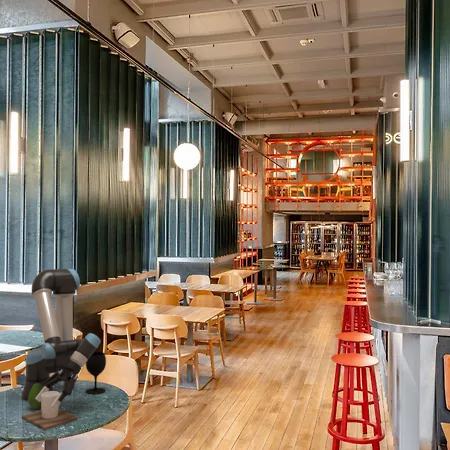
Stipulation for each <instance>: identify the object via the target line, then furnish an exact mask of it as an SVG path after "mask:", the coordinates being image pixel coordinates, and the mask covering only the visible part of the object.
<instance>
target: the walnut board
mask: <svg viewBox="0 0 450 450" xmlns="http://www.w3.org/2000/svg"><path fill="white" fill-rule="evenodd" d="M21 419H22V420H23V421H26V422H27V423H30V424H31V425H33V426H35V427H38V428H40V429H41V430H43V431H48V430H50V429H53V428H57V427H60V426H63V425H65V424H69V423H72V422H74V421H77V420H79V417H78V416H77V415H75V414H72V413H71V412H67V411H66V410H63V409H61V408H59V407H58V416H57V417H55V418H51V419H45V418H42V410H41V409H39V410H37V411H34V412H29V413H27V414H24V415H21Z"/></svg>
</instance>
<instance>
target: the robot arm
mask: <svg viewBox="0 0 450 450" xmlns="http://www.w3.org/2000/svg"><path fill="white" fill-rule="evenodd" d="M80 285H81V282H80V276H79V274H78V272H77V270H75V269H74V268H59V269H45V270H42V271H40V272H39V273H38V274H37V275H36V276H35V277H34V279H33V281H32V285H31V296H32V298H33V299H35V303H36V308H37V312H38V318H39V321H40V327H41V331H42V335H43V342H44V343H42V344H41V346H40V348H37V349H36V348H35V349H33V350H30V351H29V352H28V353H27V354H26V359H25V383H24V385H23V389H22V392H21V399H22V400H24V401H28V395H29V393H30V390H31V388H32V386H33V385H34V384H36V383H39V384H41V385H42V387H43V389H42V390H41V391H40V393H39V394H38V396H37V397H36V398H35V399H36V400H38V401H39V402H40V401H41V394H42V393H44V392H48V391H54V388H53V386H55V385H57V384H59V383H60V382H63V387H62V391H61V392H59V396H58V397H57V398H56V400H55V401H54V402H53V404H52V405H51V406H52V407H53V408H54V409H56V408H57V407H58V406H60V405H61V403H62V402H63V401H64V400H65V398H66V397H67V396H71V395H72V394H73V389H74V388H75V385H76V382H77V380H78V378H79V373H80V371H81V370H82V368H83V367H84V366H86V362H87V360H88V359H89V358H90V357H91V355H92V354H93V353H94V352H96V350H97V349H98V348H99V345H100V344H101V339H100V338H99V336H97V334H94V333H91V332H90V333H89V332H88V333H87V335H86V336H84V337H85V338H74V337H73V336H74V335H73V334H74V331H73V330H74V329H73V328H74V327H73V325H74V323H73V321H74V319H73V318H74V317H73V312H74V311H73V310H74V306H73V303H74V301H73V300H74V299H73V297H74V296H75V295H76V291H77V290H79V289H80ZM52 295H53V296H54V298H55V308H54V303H53V299H52ZM51 374H52V375H51ZM50 375H51V376H50ZM58 408H59V407H58Z"/></svg>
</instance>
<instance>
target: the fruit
mask: <svg viewBox="0 0 450 450" xmlns="http://www.w3.org/2000/svg"><path fill="white" fill-rule="evenodd" d="M42 389H43V387H42V385H41V384H39V383H36V384H34V385H33V386H32V388H31V390H30V393H29V395H28V400H27V402H28V405H29V407H31V409H35V410H36V409H37V410H38V409H41V401H40V402H39V401H38V400H36V399H35V398H36V397H37V396H38V394H39V393H40V391H41V390H42Z"/></svg>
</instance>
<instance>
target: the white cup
mask: <svg viewBox="0 0 450 450" xmlns="http://www.w3.org/2000/svg"><path fill="white" fill-rule="evenodd" d="M59 394H60V392H59V391H56V390H53V391H48V392H44V393H42V394H41V407H40V410H42V418H45V419H51V418H55V417H57V416H58V408H59V406H60V405H59V406H58V407H57V408H56V409H54V408H53V407H52V406H51V405H52V404H53V402H54V401H55V400H56V398H57V397H58V396H59Z"/></svg>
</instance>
